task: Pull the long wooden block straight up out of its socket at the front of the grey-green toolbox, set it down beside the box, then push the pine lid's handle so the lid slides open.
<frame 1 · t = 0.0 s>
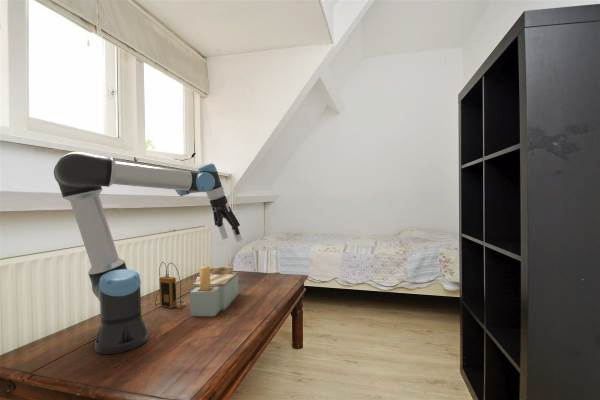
hand: (232, 239, 143), 28 cm above the table, tool tilted 20°, fingers open, 13 cm apart
toolbox: (217, 301, 140), on the table
long wooden block: (205, 305, 126), point 3 cm above the table, touching toolbox
multimeter: (174, 304, 138), on the table
lid: (216, 275, 140), point 12 cm above the table, slide at 0.0 cm
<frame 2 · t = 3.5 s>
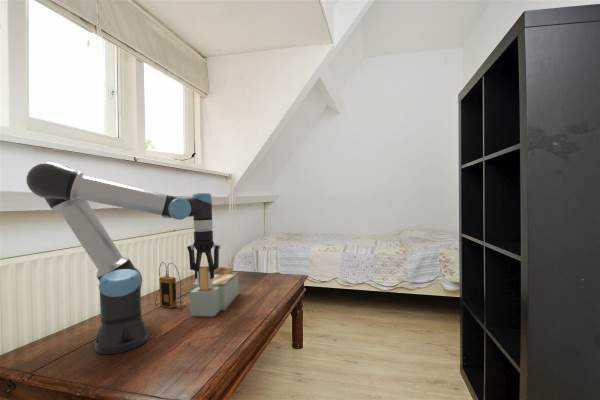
hand: (205, 286, 126), 11 cm above the table, tool pointing down, fingers closed on long wooden block, 4 cm apart
long wooden block: (205, 305, 126), point 3 cm above the table, touching gripper
everything else where it was.
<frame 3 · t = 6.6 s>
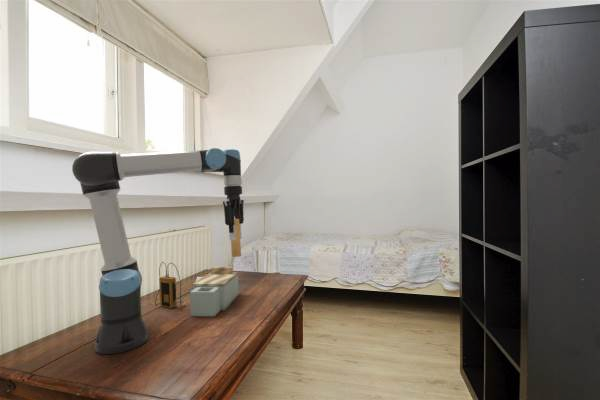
hand: (235, 239, 132), 29 cm above the table, tool pointing down, fingers closed on long wooden block, 4 cm apart
long wooden block: (236, 255, 132), point 22 cm above the table, touching gripper
everything else where it was.
when the fingers open (10 cm above the table, at t = 10.2 s): long wooden block drops 3 cm, on the table.
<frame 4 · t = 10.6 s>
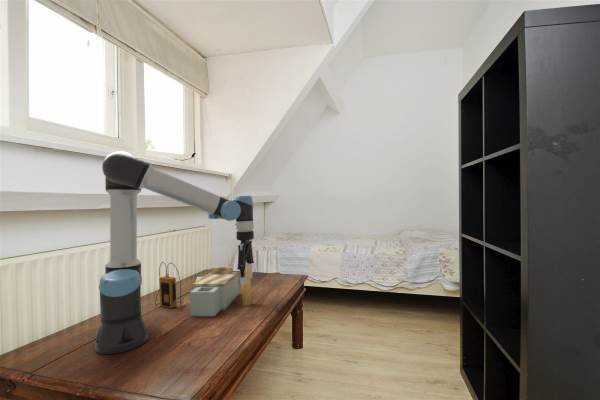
hand: (246, 281, 134), 11 cm above the table, tool pointing down, fingers open, 9 cm apart
long wooden block: (247, 304, 135), on the table
everything else where it was.
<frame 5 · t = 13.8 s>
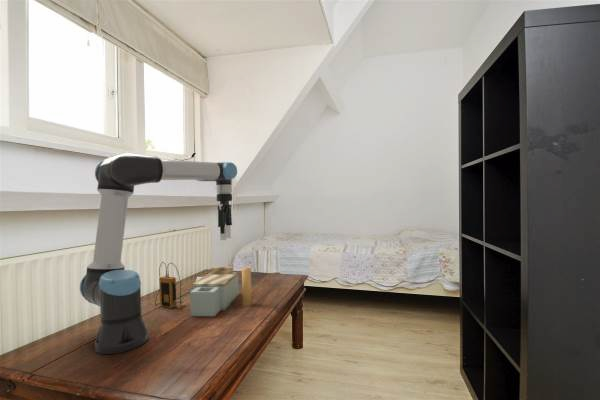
hand: (225, 238, 153), 27 cm above the table, tool pointing down, fingers open, 6 cm apart
nothing on the table moved.
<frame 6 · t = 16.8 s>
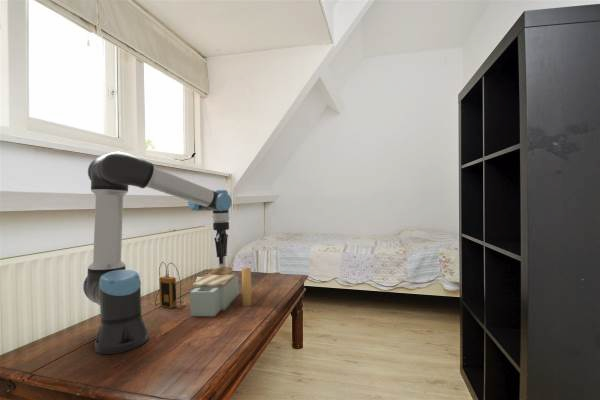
hand: (222, 270, 148), 13 cm above the table, tool pointing down, fingers closed
lid: (216, 275, 139), point 12 cm above the table, slide at 0.8 cm, touching gripper
everything else where it was.
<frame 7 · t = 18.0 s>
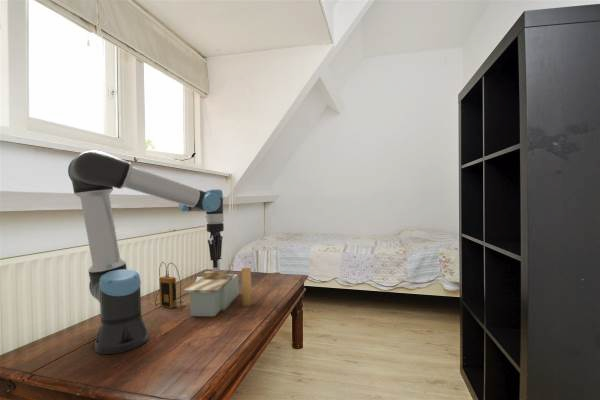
hand: (216, 274, 140), 13 cm above the table, tool pointing down, fingers closed
lid: (209, 280, 131), point 12 cm above the table, slide at 8.7 cm, touching gripper
everything else where it was.
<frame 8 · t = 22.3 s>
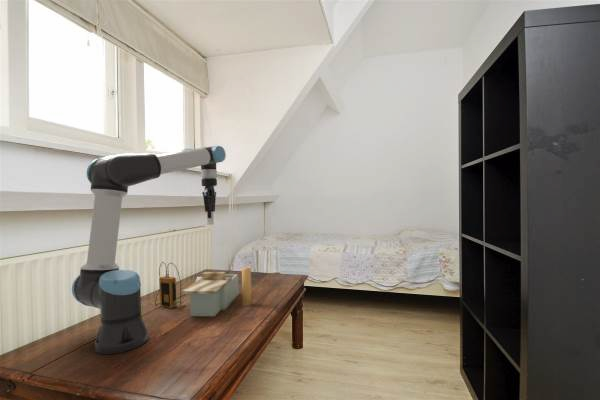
hand: (210, 224, 155), 34 cm above the table, tool pointing down, fingers closed
lid: (208, 281, 130), point 12 cm above the table, slide at 10.1 cm
everything else where it was.
at the end: lid slide at 10.1 cm; long wooden block inside the target area (1.0 cm from its centre), on the table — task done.
